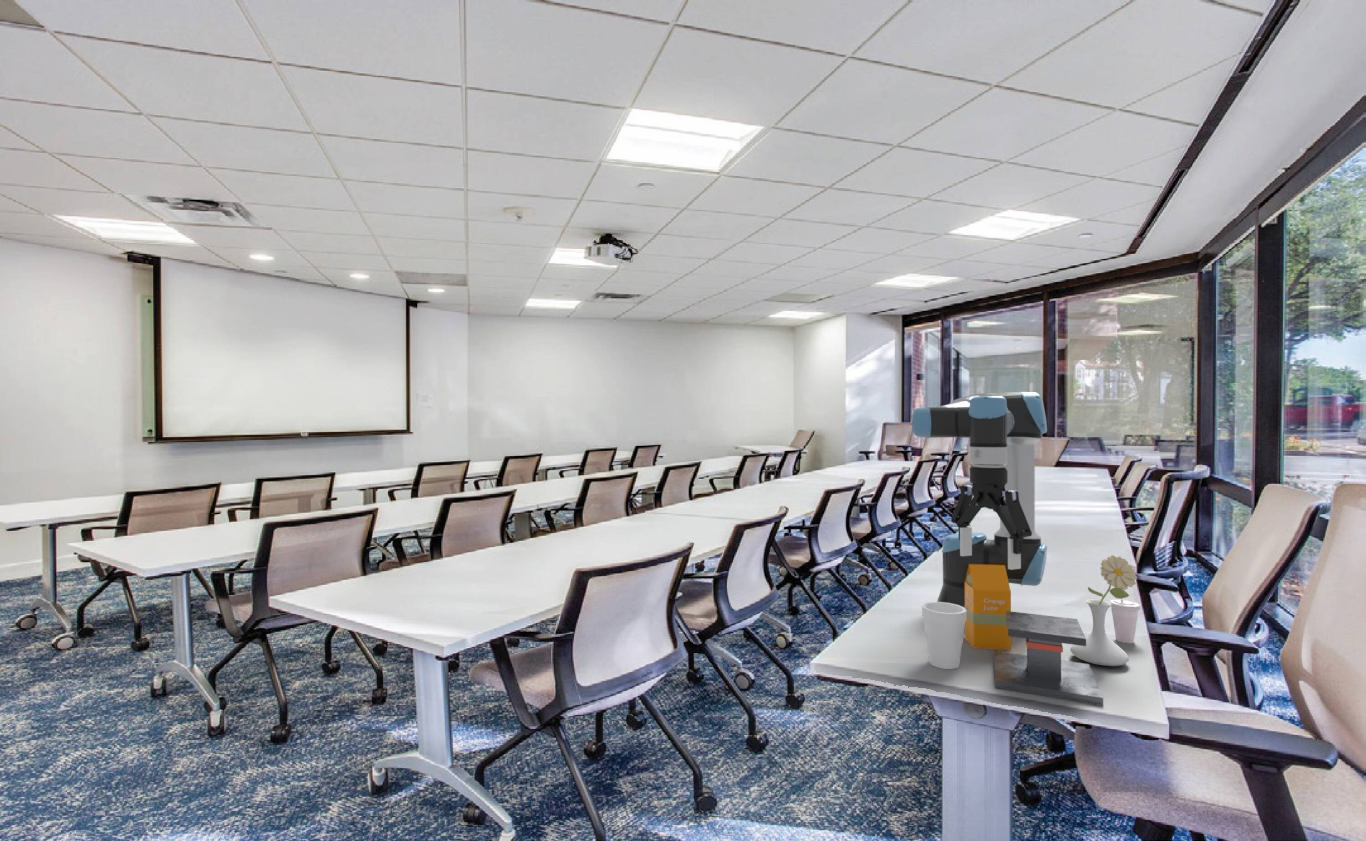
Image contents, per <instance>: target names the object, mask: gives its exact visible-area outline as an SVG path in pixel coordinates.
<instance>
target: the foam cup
mask: <svg viewBox="0 0 1366 841" xmlns="http://www.w3.org/2000/svg"><path fill="white" fill-rule="evenodd" d="M921 616H922V618H923V624H924V625H923V626H924V631H925V632H924V633H925V641H926V647H927V654H928V660H929V664H930V665H931V666H934V667H936V668H939V669H944V670H955V669H957V668H959V667H960V664H961V656H962V651H963V650H962V649H963V648H962V647H963V641H964V636H965V621H966V609H965V608H964V607H962V606H959V605H956V604H952V603H945V602H937V601H929V602H925V603H923V604H922V605H921Z"/></svg>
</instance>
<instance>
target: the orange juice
mask: <svg viewBox="0 0 1366 841" xmlns="http://www.w3.org/2000/svg"><path fill="white" fill-rule="evenodd" d="M1011 600H1012V592H1011V586H1010V583H1009V582H1008V577H1007V573H1006V568H1005V565H985V564H969V567H968V571H967V575H966V579H965V609H966V621H965V628H964V638H965V640H966V641H967V642H968V643H969V644H970V645H971V646H972V648H973V649H989V650H1007V651H1009V650H1010V651H1011V650H1012V636H1008V630H1007V620H1006V611H1011V612H1012V601H1011Z"/></svg>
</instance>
